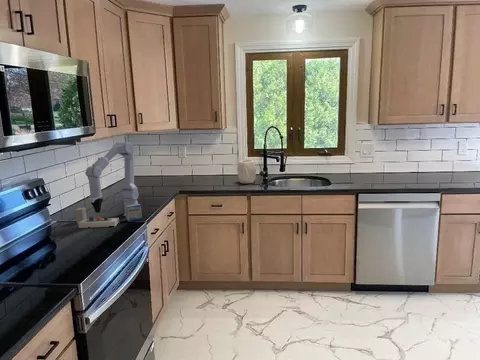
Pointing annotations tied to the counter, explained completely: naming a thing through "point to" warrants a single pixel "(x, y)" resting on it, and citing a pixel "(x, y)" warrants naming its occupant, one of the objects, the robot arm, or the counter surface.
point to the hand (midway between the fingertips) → (98, 212)
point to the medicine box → (133, 212)
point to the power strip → (98, 223)
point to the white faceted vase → (246, 171)
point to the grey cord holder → (80, 214)
